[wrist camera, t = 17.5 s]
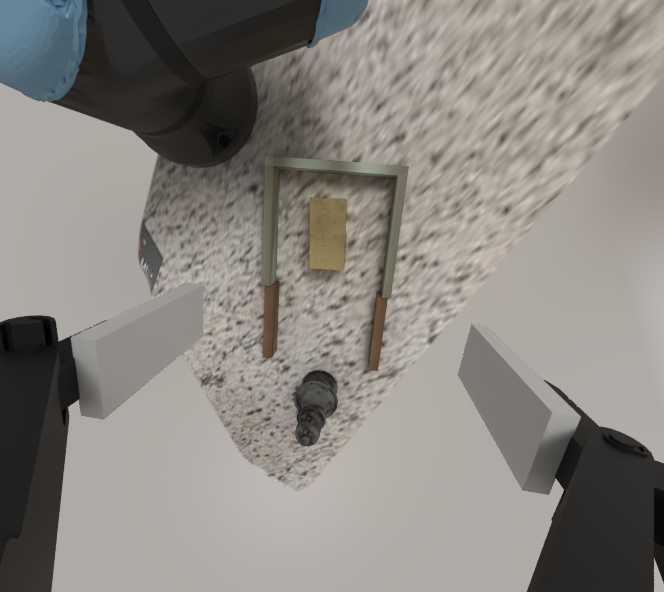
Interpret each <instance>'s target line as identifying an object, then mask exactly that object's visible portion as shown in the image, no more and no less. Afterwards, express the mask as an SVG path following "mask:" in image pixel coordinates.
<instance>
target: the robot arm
mask: <svg viewBox="0 0 664 592" xmlns="http://www.w3.org/2000/svg"><path fill="white" fill-rule="evenodd" d="M368 1H369V0H0V83H2V84H5V85H7V86H9V87H11V88H13V89H16V90H18V91H20V92H22V93H23V94H24V95H26V96H28V97H30V98H32V99H35V100H38V101H42V102H45V101H48V102H51V103H54V104H57V105H60V106H63V107H66V108H68V109H71V110H74V111H77V112H80V113H82V114H86V115H89V116H91V117H94V118H97V119H100V120H103V121H105V122H109V123H111V124H114V125H117V126H120V127H123V128H125V129H128V130H132V131H133V132H135V134H136V135H137V136H139V137H140V138H141V139H142V140H143V141H144V142H145V143H146V144H147V145H148V146H149V147H150V148H151V149H153V150H154V151H155V152H157V153H158V154H159V155H161V156H163V157H165V158H166V159H168V160H171V161H173V162H176V163H179V164H183V165H187V166H191V167H211V166H215V165H218V164H221V163H223V162H225V161H227V160H228V159H230V158H231V157H233V156H234V155H235V154H236V153H237V152H238V151H239V150H240V149H241V148H242V147H243V145H244V144H245V143H246V141H247V139H248V138H249V136H250V134H251V131H252V129H253V126H254V122H255V118H256V113H257V90H256V84H255V80H254V76H253V73H252V70H251V68H250V66H253V65H255V64H258V63H261V62H264V61H266V60H269V59H272V58H275V57H277V56H280V55H283V54H286V53H288V52H291V51H294V50H297V49H299V48H302V47H305V46H307V48H311V47H314V46H315V45H316V44H317V43H318V41H319V40H321V39H323V38H326V37H328V36H330V35H333V34H335V33H337V32H340V31H342V30H344V29H347V28H349V27H351V26H352V25H354V24H355V23H356V22H357V21H358V20H359V19H360V18H361V16H362V14H363V13H364V11H365V9H366V7H367V4H368ZM202 336H203V285H199V284H192V283H187V284H185V285H183V286H181V287H178V288H176V289H174V290H172V291H170V292H168V293H165V294H163V295H161V296H159V297H157V298H155V299H152V300H150V301H148V302H146V303H144V304H141V305H139V306H137V307H135V308H133V309H131V310H128V311H126V312H124V313H122V314H120V315H118V316H115V317H113V318H111V319H109V320H105V321H103V322H101V323H99V324H97V325H95V326H94V327H90V328H88V329H86V330H84V331H81V332H79V333H77V334H75V335H73V336H70V337H68V338H66V339H64V340H62V341H58V334H57V328H56V321H55V319H54V318H52V317H49V316H24V317H17V318H13V319H8V320H5V321H3V322H0V592H51V589H52V579H53V569H54V560H55V550H56V541H57V530H58V521H59V511H60V502H61V492H62V482H63V472H64V464H65V454H66V445H67V435H68V425H69V411H68V406H70V405H71V404H73V403H74V402H76V401H77V400H79V404H80V412H81V416H87V417H93V418H99V419H105V418H106V417H107V416H108V415H109V414H111V413H112V412H113V411H114V410H115V409H116V408H118V407H119V406H120V405H121V404H122V403H124V402H125V401H126V400H127V399H128V398H130V397H131V396H132V395H133V394H134V393H136V392H137V391H138V390H139V389H140V388H141V387H143V386H144V385H145V384H146V383H148V382H149V381H150V380H151V379H152V378H154V377H155V376H156V375H157V374H158V373H160V372H161V371H162V370H163V369H164V368H165V367H167V366H168V365H169V364H170V363H171V362H173V361H174V360H175V359H176V358H177V357H179V356H180V355H181V354H182V353H183V352H185V351H186V350H187V349H188V348H189V347H191V346H192V345H193V344H194V343H195V342H197V341H198V340H199V339H200V338H201V337H202ZM458 376H459V378H460V379H461V381H462V383H463V385H464V387H465V388H466V390H467V392H468V394H469V395H470V397H471V399H472V401H473V402H474V404H475V406H476V408H477V410H478V412H479V413H480V415H481V417H482V419H483V420H484V422H485V424H486V426H487V428H488V429H489V431H490V433H491V435H492V437H493V438H494V440H495V442H496V444H497V445H498V447H499V449H500V451H501V453H502V455H503V456H504V458H505V460H506V462H507V464H508V465H509V467H510V469H511V471H512V473H513V474H514V476H515V478H516V480H517V481H518V483H519V485H520V487H521V489H522V490H524V491H529V492H536V493H542V494H547V495H548V494H549V493H550V490H551V488H552V486H553V483H554V481H555V479H557V480H558V482H559V483H560V485H561V486H562V487H563V489H564V492H563V494H562V497H561V499H560V501H559V503H558V506H557V508H556V510H555V513H554V515H553V517H552V524H551V526H550V529H549V532H548V535H547V538H546V540H545V543H544V546H543V548H542V551H541V554H540V557H539V559H538V562H537V565H536V568H535V571H534V573H533V576H532V579H531V582H530V584H529V587H528V590H527V592H654V558H655V561H656V563H657V566H658V569H659V572H660V574H661V577H662V580H663V582H664V463H661V462H658V461H655V460H654V458H653V456H652V453H651V452H650V451H649V450H648V449H647V448H646V447H645V446H644V445H642V444H641V443H639V442H638V441H636V440H635V439H633V438H631V437H629V436H627V435H625V434H623V433H621V432H618V431H616V430H613V429H610V428H606V427H599V426H598V425H597V424H596V423H595V422H594V421H593V420H592V419H591V418H589V416H587V415H586V414H585V413H584V412H583V411H582V410H581V409H580V408H579V407H577V405H576V404H575V403H574V402H573V401H572V400H570V399H569V398H568V397H567V396H566V395H565V394H564V393H563V392H562V391H561V390H560V389H559V388H557V387H555V386H554V385H552V384H550V383H549V382H547V381H546V380H543V379H542V378H541V377H540V376H539V375H538V374H537V373H536V372H534V371H533V369H531V368H530V367H529V366H528V365H527V364H526V363H525V362H524V361H523V360H522V359H521V358H520V357H519V356H518V355H517V354H516V353H515V352H514V351H513V350H512V349H511V348H510V347H509V346H508V345H507V344H506V343H505V342H503V340H502V339H501V338H500V337H499V336H498V335H497V334H496V333H495V332H494V331H493V330H491V329H490V328H489V327H488V326H484V325H476V324H471V328H470V332H469V335H468V339H467V343H466V346H465V350H464V354H463V358H462V361H461V365H460V369H459V372H458Z"/></svg>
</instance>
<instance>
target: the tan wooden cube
mask: <svg viewBox="0 0 664 592" xmlns="http://www.w3.org/2000/svg"><path fill="white" fill-rule="evenodd" d="M345 252H346V234H345V235H344V236H341V235H319V234H310V253H309V269H327V270H343V269H344V266H345Z"/></svg>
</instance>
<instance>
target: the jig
mask: <svg viewBox="0 0 664 592" xmlns="http://www.w3.org/2000/svg"><path fill="white" fill-rule="evenodd" d="M408 168H409V166H397V165H384V164H370V163H357V162H344V161H331V160H317V159H304V158H291V157H277V156H265V172H264V210H263V249H262V285H265V305H264V339H263V357H268V358H272V357H273V355H274V354H275V352H276V350H277V330H278V306H279V282H280V281H276V264H277V238H278V212H279V186H280V169H283V170H295V171H308V172H321V173H334V174H347V175H359V176H372V177H385V178H396V179H395V186H394V194H393V202H392V210H391V218H390V225H389V233H388V241H387V249H386V257H385V264H384V272H383V280H382V288H381V292H377V297H376V305H375V313H374V321H373V329H372V337H371V345H370V353H369V361H368V364H369V370H374V371H378V366H379V359H380V351H381V344H382V336H383V329H384V321H385V314H386V307H387V299H391V292H392V284H393V277H394V270H395V262H396V255H397V248H398V241H399V233H400V226H401V219H402V211H403V204H404V197H405V190H406V182H407V175H408Z"/></svg>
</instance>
